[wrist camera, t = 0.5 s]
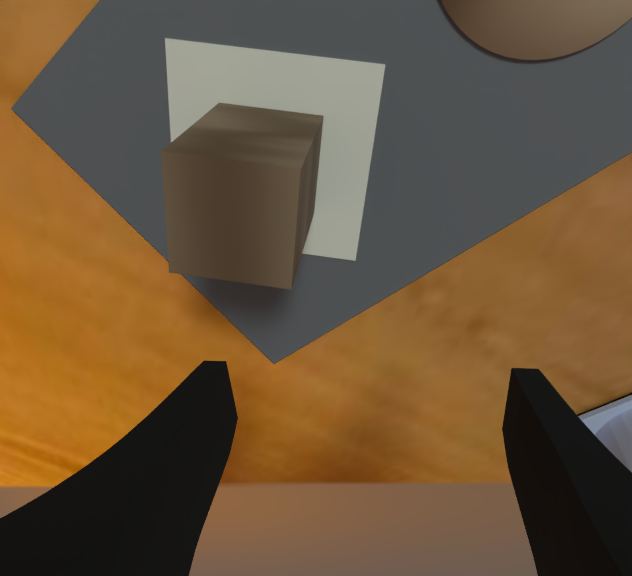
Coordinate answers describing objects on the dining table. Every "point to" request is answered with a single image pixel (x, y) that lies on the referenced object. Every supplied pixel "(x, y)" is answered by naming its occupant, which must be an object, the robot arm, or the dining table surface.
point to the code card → (295, 96)
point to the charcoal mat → (388, 148)
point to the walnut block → (241, 194)
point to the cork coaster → (537, 24)
